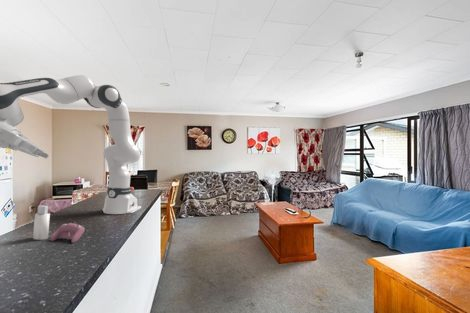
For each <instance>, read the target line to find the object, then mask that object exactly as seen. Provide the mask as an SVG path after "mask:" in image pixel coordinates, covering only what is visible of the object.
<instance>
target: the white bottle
mask: <svg viewBox="0 0 470 313" xmlns="http://www.w3.org/2000/svg"><path fill="white" fill-rule="evenodd" d="M48 211H49V206H48V205H38V206H37V212H36V213H34V219H33V220H34V223H33V230H32V231H33V234H32V240H39V241H40V240H41V241H42V240H48V239H49V231H50V221H51V220H50V218H51V213H48Z"/></svg>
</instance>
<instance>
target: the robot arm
mask: <svg viewBox="0 0 470 313" xmlns="http://www.w3.org/2000/svg"><path fill="white" fill-rule="evenodd" d="M38 94H46V95H47V96H48V97H49V98H50V99H51V100H53V101H54V102H55V103H58V104H61V105H68V104H73V103H75V102H78V101H81V100H85V102H86V103H87V104H88V105H89V106H90V107H92V108H95V109H101V108H102V109H103V108H104V109H105V111H106V112H107V120H108V121H107V122H108V123H107V124H108V133H109V136H110V138H112V140H113V142H114V144H111V145H108V146H107V147H106V148H105V149H104V150H103V157H104V159H105V160H106V163H107V167H108V186H107V189H106V191H107V192H106V194H107V195H106V196H105V198H104V204H103V208H102V211H103V213H104V214H107V215H123V214H133V213H135V212H136V211H139V210H140V209H142V206H141V205H138V198H137V197H136V196H135V195H134V194H132V191H134V190H135V188H134V187H133V186H130V185H131V175H132V174H131V172H130V171H129V169H128V165H130V164H134V163H137V162H139V160H140V158H141V152H140V149H139V148H138V147H137V146H136V144H135V142H134V139H133V136H132V131H131V119H130V111H129V108H128V105H127V104H126V103H125V102H124V101H122V100H123V99H122V98H121V94H120V92H119V89H117V87H115V86H113V85H111V84H102V85H95V84H94V82H93V81H92V80H91V78H89V77H88V76H86V75H83V74H81V75H72V76H67V77H64V78H60V79H54V78H50V77H40V78H31V79H25V80H19V81H17V80H16V81H12V82H0V148H2V149H7V150H8V149H9V150H13V151H15V152H16V151H19V152H22V153H24V154H27V155H29V156H32V157H36V158H40V157H42V158H44V159H48V158H49V157H50V154H48V153H46V152H44V150H43V149H42V148H41V147H40V146H38V145H36V144H35V143H33V142H31V141H30V140H28V138H27V137H26V136H25V135H24V134H23V133H22V131H21V129H19V128H17V125H19V124H21V123H22V122H23V121H24V118H25V115H24V113H23V110H22V108H21V106H20V104H19V102H18V100H20V98H23V97H28V96H33V95H38Z"/></svg>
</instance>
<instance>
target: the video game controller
mask: <svg viewBox="0 0 470 313" xmlns="http://www.w3.org/2000/svg"><path fill="white" fill-rule="evenodd" d="M70 232H72V233H70ZM84 233H85V227H84V226H82V225H80V224H79V223H72V222H70V223H62V224H61V225H59V227H58V228H57V229H56V230H55V231H54V232H52V234H51V237H50V241H52V242H53V241H56V240H57V239H58V238H60V237H61V239H63V240H66V239H70V240H71V243H72V244H74V243H76V242H78V241H79V240H80V238H81V236H83V234H84Z"/></svg>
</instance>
